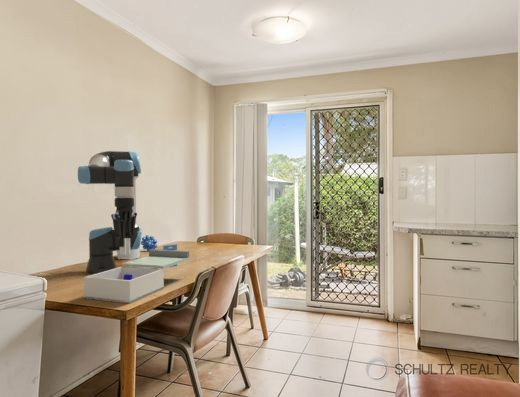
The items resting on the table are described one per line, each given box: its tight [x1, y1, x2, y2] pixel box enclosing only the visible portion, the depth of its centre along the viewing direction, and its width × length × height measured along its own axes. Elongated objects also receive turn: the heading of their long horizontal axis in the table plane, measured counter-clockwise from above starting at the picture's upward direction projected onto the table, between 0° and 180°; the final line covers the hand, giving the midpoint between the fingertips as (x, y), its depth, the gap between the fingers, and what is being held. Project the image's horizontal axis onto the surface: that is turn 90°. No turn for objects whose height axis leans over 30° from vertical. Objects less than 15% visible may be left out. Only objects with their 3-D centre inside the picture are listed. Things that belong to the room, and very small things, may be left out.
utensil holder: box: [116, 246, 141, 260], centre depth 234 cm, size 15×15×18 cm
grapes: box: [140, 234, 158, 252], centre depth 259 cm, size 12×7×12 cm, turn 106°
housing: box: [83, 266, 165, 304], centre depth 148 cm, size 22×22×8 cm
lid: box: [121, 249, 190, 270], centre depth 169 cm, size 22×22×4 cm
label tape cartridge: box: [162, 243, 178, 267], centre depth 205 cm, size 9×4×12 cm, turn 133°
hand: (125, 253), depth 148 cm, fingers open, 2 cm apart
